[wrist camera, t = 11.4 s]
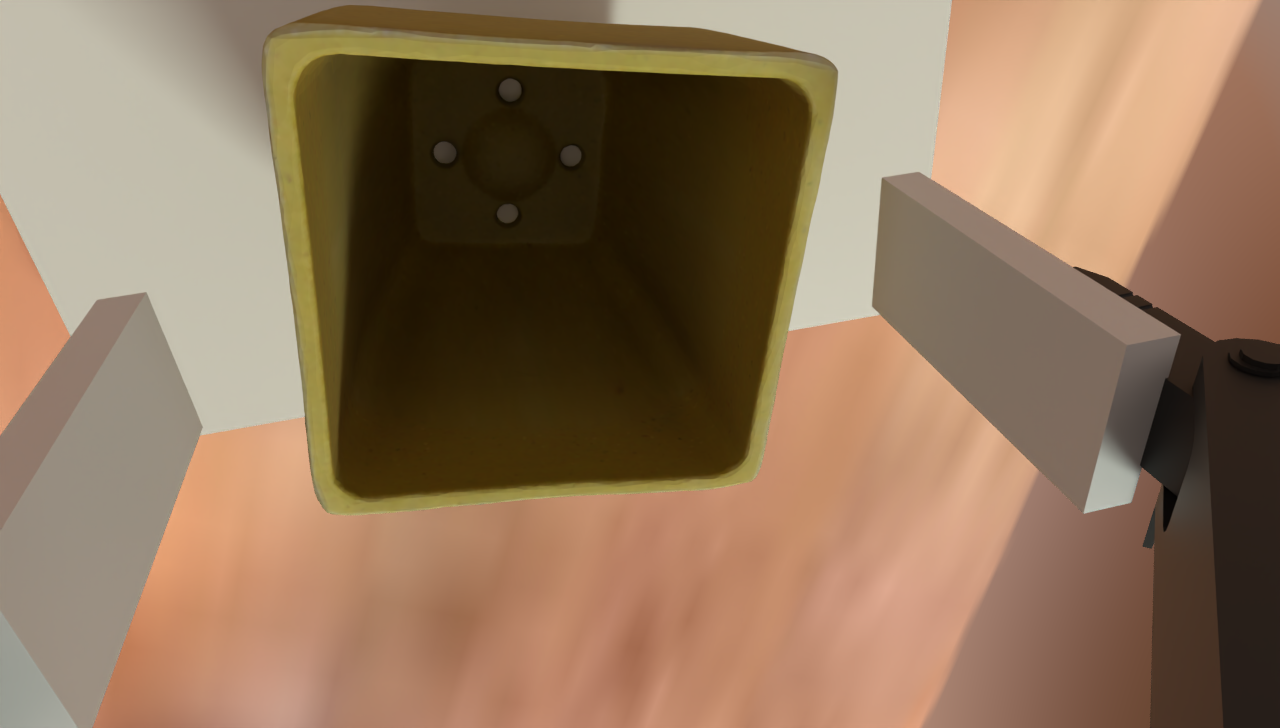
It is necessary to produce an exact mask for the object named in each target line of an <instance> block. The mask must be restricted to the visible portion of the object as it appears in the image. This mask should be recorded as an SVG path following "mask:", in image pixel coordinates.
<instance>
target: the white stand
mask: <svg viewBox="0 0 1280 728" xmlns="http://www.w3.org/2000/svg"><path fill="white" fill-rule="evenodd" d="M951 4H952V0H0V194H1V197H2V199H3V201H4V203H5V205H6V207H7V209H8V211H9V213H10V215H11V217H12V219H13V221H14V223H15V225H16V227H17V229H18V231H19V233H20V235H21V237H22V239H23V241H24V243H25V245H26V247H27V249H28V251H29V253H30V255H31V257H32V259H33V261H34V263H35V265H36V267H37V269H38V271H39V273H40V275H41V277H42V279H43V281H44V283H45V285H46V287H47V289H48V291H49V293H50V295H51V297H52V299H53V301H54V303H55V305H56V308H57V310H58V312H59V314H60V316H61V318H62V320H63V322H64V324H65V326H66V328H67V330H68V332H69V334H70V336H72V334H73V333H74V331H75V330H76V329H77V327H78V326H79V324H80V323H81V322H82V320H83V319H84V317H85V316H86V315H87V313H88V312H89V310H90V309H91V308H92V306H93V305H94V303H95V302H96V301H97V300H99V299H105V298H112V297H118V296H124V295H131V294H137V293H144V292H147V295H148V297H149V299H150V302H151V304H152V307H153V309H154V311H155V314H156V316H157V319H158V321H159V323H160V326H161V328H162V331H163V333H164V335H165V338H166V340H167V342H168V345H169V347H170V350H171V352H172V354H173V357H174V359H175V362H176V364H177V366H178V369H179V371H180V374H181V376H182V378H183V381H184V383H185V385H186V388H187V390H188V393H189V395H190V397H191V400H192V402H193V405H194V407H195V409H196V412H197V414H198V417H199V419H200V421H201V424H202V426H203V428H202V431H201V433H200V435H205V434H211V433H217V432H222V431H228V430H234V429H239V428H245V427H250V426H256V425H262V424H267V423H273V422H279V421H284V420H290V419H296V418H301V417H305V412H304V403H303V391H302V381H301V374H300V366H299V357H298V349H297V340H296V332H295V323H294V314H293V305H292V299H291V293H290V283H289V274H288V267H287V259H286V252H285V245H284V238H283V230H282V222H281V213H280V205H279V198H278V191H277V184H276V178H275V171H274V165H273V159H272V152H271V144H270V136H269V127H268V118H267V110H266V103H265V96H264V88H263V79H262V51H263V44H264V42H265V40H266V37H267V36H268V35H269V34H270V33H271V32H272V31H273V30H274V29H277V28H279V27H281V26H284V25H286V24H288V23H291V22H294V21H296V20H299V19H302V18H304V17H307V16H310V15H312V14H315V13H318V12H321V11H324V10H328V9H331V8H334V7H339V6H345V5H367V6H379V7H391V8H402V9H413V10H425V11H438V12H451V13H464V14H477V15H490V16H503V17H516V18H529V19H542V20H557V21H574V22H590V23H608V24H629V25H651V26H675V27H694V28H702V29H708V30H713V31H718V32H723V33H728V34H732V35H737V36H741V37H745V38H750V39H754V40H758V41H763V42H767V43H771V44H775V45H780V46H784V47H788V48H791V49H795V50H799V51H803V52H808V53H813V54H817V55H820V56H822V57H825V58H826V59H828V60H829V61H831V62H832V63H833V64H834V65H835V67H836V68H837V70H838V83H837V91H836V99H835V107H834V114H833V120H832V125H831V129H830V135H829V141H828V145H827V149H826V153H825V158H824V163H823V168H822V174H821V179H820V184H819V189H818V194H817V198H816V202H815V206H814V210H813V214H812V218H811V223H810V228H809V232H808V237H807V242H806V248H805V253H804V258H803V263H802V268H801V272H800V276H799V281H798V285H797V290H796V295H795V300H794V305H793V310H792V315H791V320H790V325H789V330H788V331H791V330H797V329H803V328H808V327H814V326H820V325H825V324H831V323H837V322H842V321H848V320H853V319H859V318H865V317H870V316H876V315H880V314H879V313H878V312H877V311H876V310H875V309H874V308H873V307H872V298H873V285H874V272H875V259H876V246H877V232H878V219H879V206H880V193H881V180H882V177H888V176H895V175H901V174H908V173H914V172H920V173H922V174H924V175H925V176H927V177H928V178H930V179H931V175H932V166H933V158H934V149H935V140H936V132H937V123H938V115H939V106H940V98H941V89H942V81H943V72H944V63H945V55H946V46H947V38H948V29H949V21H950V12H951ZM499 93H500V96H501V97H502V98H503V99H504V100H506V101H508V102H512V101H516V100H517V99H518V98H519V97H520V95H521V93H522V88H521V85H520V83H519V82H518V81H516V80H514V79H506V80H504V81H503V82H502V83H501V84H500V87H499ZM434 156H435V158H436V159H437V160H438V161H439V162H440V163H450V162H452V161H453V160H454V159H455V157H456V149H455V148H454V146H453V145H452V144H450V143H448V142H440V143H438V144H437V145H436V146H435V148H434ZM560 159H561V161H562V163H563V164H564V165H566V166H575V165H576V164H578V163H579V161H580V159H581V151H580V149H579V148H578V147H577V146H573V145H570V146H567V147H565V148H564V149H563V150H562V152H561V154H560ZM517 216H518V210H517V208H516V207H515V206H514V205H512V204H504V205H502V206H501V207H499V209H498V211H497V217H498V218H499V220H500V221H502V222H504V223H511V222H513V221H515V219H516V218H517Z"/></svg>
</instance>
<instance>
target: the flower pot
mask: <svg viewBox="0 0 1280 728" xmlns="http://www.w3.org/2000/svg"><path fill="white" fill-rule="evenodd" d="M262 79H263V88H264V96H265V103H266V110H267V118H268V127H269V136H270V144H271V152H272V159H273V165H274V171H275V178H276V184H277V191H278V198H279V205H280V213H281V222H282V230H283V238H284V245H285V252H286V259H287V267H288V274H289V283H290V293H291V299H292V305H293V314H294V323H295V332H296V340H297V349H298V357H299V366H300V374H301V381H302V391H303V403H304V412H305V426H306V433H307V443H308V453H309V461H310V469H311V476H312V481H313V486H314V491H315V494H316V496H317V499H318V501H319V502H320V504H321V505H322V507H323V508H324V509H325V511H326V512H327V513H330V514H335V515H367V514H382V513H394V512H405V511H417V510H427V509H436V508H442V507H454V506H465V505H481V504H490V503H497V502H508V501H517V500H527V499H540V498H554V497H568V496H584V495H603V494H639V493H657V492H673V491H696V490H709V489H716V488H722V487H728V486H733V485H738V484H742V483H747V482H751V481H752V480H753V479H755V478H756V476H757V474H758V472H759V470H760V467H761V464H762V460H763V456H764V451H765V446H766V442H767V435H768V430H769V425H770V420H771V415H772V410H773V405H774V401H775V395H776V389H777V384H778V379H779V373H780V368H781V362H782V357H783V352H784V348H785V343H786V339H787V334H788V330H789V325H790V320H791V315H792V310H793V305H794V300H795V295H796V290H797V285H798V281H799V276H800V272H801V268H802V263H803V258H804V253H805V248H806V242H807V237H808V232H809V228H810V223H811V218H812V214H813V210H814V206H815V202H816V198H817V194H818V189H819V184H820V179H821V174H822V168H823V163H824V158H825V153H826V149H827V145H828V141H829V135H830V129H831V125H832V120H833V114H834V107H835V99H836V91H837V83H838V70H837V68H836V67H835V65H834V64H833V63H832V62H831V61H829V60H828V59H826V58H825V57H822V56H820V55H817V54H813V53H808V52H803V51H799V50H795V49H791V48H788V47H784V46H780V45H775V44H771V43H767V42H763V41H758V40H754V39H750V38H745V37H741V36H737V35H732V34H728V33H723V32H718V31H713V30H708V29H702V28H694V27H675V26H651V25H629V24H608V23H590V22H574V21H557V20H542V19H529V18H516V17H503V16H490V15H477V14H464V13H451V12H438V11H425V10H413V9H402V8H391V7H379V6H367V5H345V6H339V7H334V8H331V9H328V10H324V11H321V12H318V13H315V14H312V15H310V16H307V17H304V18H302V19H299V20H296V21H294V22H291V23H288V24H286V25H284V26H281V27H279V28H277V29H274V30H273V31H272V32H271V33H270V34H269V35H268V36H267V37H266V40H265V42H264V44H263V51H262ZM506 79H514V80H516V81H518V82H519V83H520V85H521V88H522V93H521V95H520V97H519V98H518V99H517V100H516V101H512V102H508V101H506V100H504V99H503V98H502V97H501V96H500V93H499V87H500V84H501V83H502V82H503V81H504V80H506ZM440 142H448V143H450V144H452V145H453V146H454V148H455V149H456V157H455V159H454V160H453V161H452V162H450V163H440V162H439V161H438V160H437V159H436V158H435V156H434V148H435V146H436V145H437V144H438V143H440ZM570 145H573V146H577V147H578V148H579V149H580V151H581V159H580V161H579V163H578V164H576V165H575V166H566V165H564V164H563V163H562V161H561V159H560V154H561V152H562V150H563V149H564V148H565V147H567V146H570ZM504 204H512V205H514V206H515V207H516V208H517V210H518V216H517V218H516V219H515V221H513V222H511V223H504V222H502V221H500V220H499V218H498V217H497V211H498V209H499V207H501V206H502V205H504Z"/></svg>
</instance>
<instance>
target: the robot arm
mask: <svg viewBox="0 0 1280 728" xmlns="http://www.w3.org/2000/svg"><path fill="white" fill-rule="evenodd" d="M872 307H873V308H874V309H875V310H876V311H877V312H878V313H879V314H880V315H881V316H882V317H883V318H884V319H885V320H886V321H887V322H888V323H889V324H890V325H891V326H892V327H893V328H894V329H895V330H896V331H897V332H898V333H899V334H900V335H902V336H903V337H904V338H905V339H906V340H907V341H908V342H909V343H910V344H911V345H912V346H913V347H914V348H915V349H916V350H917V351H918V352H919V353H920V354H921V355H922V356H923V357H924V358H925V359H926V360H927V361H928V362H929V363H930V364H931V365H932V366H933V367H934V368H935V369H936V370H937V371H938V372H939V373H940V374H941V375H942V376H943V377H944V378H945V379H946V380H947V381H949V382H950V383H951V384H952V385H953V386H954V387H955V388H956V389H957V390H958V391H959V392H960V393H961V394H962V395H963V396H964V397H965V398H966V399H967V400H968V401H969V402H970V403H971V404H972V405H973V406H974V407H975V408H976V409H977V410H978V411H979V412H980V413H981V414H982V415H983V416H984V417H985V418H986V419H987V420H988V421H989V422H990V423H991V424H992V425H993V426H994V427H996V428H997V429H998V430H999V431H1000V432H1001V433H1002V434H1003V435H1004V436H1005V437H1006V438H1007V439H1008V440H1009V441H1010V442H1011V443H1012V444H1013V445H1014V446H1015V447H1016V448H1017V449H1018V450H1019V451H1020V452H1021V453H1022V454H1023V455H1024V456H1025V457H1026V458H1027V459H1028V460H1029V461H1030V462H1031V463H1032V464H1033V465H1034V466H1035V467H1036V468H1037V469H1038V470H1039V471H1040V472H1042V474H1044V475H1045V476H1046V477H1047V478H1048V479H1049V480H1050V481H1051V482H1052V483H1053V484H1054V485H1055V486H1056V487H1057V488H1058V489H1059V490H1060V491H1061V492H1062V493H1063V494H1064V495H1065V496H1066V497H1067V498H1068V499H1069V500H1070V501H1071V502H1072V503H1073V504H1074V505H1075V506H1076V507H1077V508H1078V509H1079V510H1080V511H1081V512H1083V514H1084V513H1088V512H1092V511H1097V510H1100V509H1105V508H1110V507H1114V506H1119V505H1123V504H1127V503H1131V502H1132V499H1133V495H1134V492H1135V488H1136V485H1137V482H1138V479H1139V475H1140V471H1141V468H1144V469H1145V470H1146V471H1147V472H1149V473H1150V474H1151V475H1152V476H1153V477H1154V478H1156V479H1157V480H1158V481H1159V482H1160V483H1162V486H1161V489H1160V493H1159V495H1158V499H1157V502H1156V505H1155V509H1154V511H1153V515H1152V518H1151V521H1150V524H1149V527H1148V530H1147V534H1146V537H1145V540H1144V543H1143V547H1147V548H1152V546H1153V544H1154V584H1153V626H1152V671H1151V713H1150V717H1151V718H1150V728H1280V344H1275V343H1270V342H1266V341H1261V340H1253V339H1239V338H1235V339H1227V340H1219V341H1217V342H1214V341H1212V340H1211V339H1209V338H1207V337H1206V336H1204V335H1202V334H1201V333H1199V332H1197V331H1195V330H1194V329H1192V328H1191V327H1189V326H1187V325H1186V324H1184V323H1182V322H1181V321H1179V320H1178V319H1176V318H1174V317H1173V316H1171V315H1169V314H1168V313H1166V312H1164V311H1163V310H1161V309H1159V308H1158V307H1156V308H1153V307H1152V304H1151V303H1149V302H1148V301H1146V300H1144V299H1143V298H1141V297H1139V296H1138V295H1136V296H1133V292H1131V291H1130V290H1128V289H1126V288H1125V287H1123V286H1121V285H1120V284H1118V283H1116V282H1115V281H1113V280H1111V279H1110V278H1108V277H1105V276H1102V275H1099V274H1096V273H1093V272H1090V271H1087V270H1084V269H1081V268H1078V267H1071V266H1070V265H1068V264H1067V263H1065V262H1063V261H1062V260H1060V259H1059V258H1057V257H1055V256H1054V255H1052V254H1051V253H1049V252H1047V251H1046V250H1044V249H1043V248H1041V247H1039V246H1038V245H1036V244H1034V243H1033V242H1031V241H1030V240H1028V239H1026V238H1025V237H1023V236H1022V235H1020V234H1018V233H1017V232H1015V231H1014V230H1012V229H1010V228H1009V227H1007V226H1006V225H1004V224H1002V223H1001V222H999V221H998V220H996V219H994V218H993V217H991V216H989V215H988V214H986V213H985V212H983V211H981V210H980V209H978V208H977V207H975V206H973V205H972V204H970V203H969V202H967V201H965V200H964V199H962V198H961V197H959V196H957V195H956V194H954V193H952V192H951V191H949V190H948V189H946V188H944V187H943V186H941V185H940V184H938V183H936V182H935V181H933V180H932V179H930V178H928V177H927V176H925V175H924V174H922V173H920V172H914V173H908V174H901V175H895V176H888V177H882V180H881V193H880V206H879V219H878V232H877V246H876V259H875V272H874V285H873V298H872ZM202 428H203V426H202V424H201V421H200V419H199V417H198V414H197V412H196V409H195V407H194V405H193V402H192V400H191V397H190V395H189V393H188V390H187V388H186V385H185V383H184V381H183V378H182V376H181V374H180V371H179V369H178V366H177V364H176V362H175V359H174V357H173V354H172V352H171V350H170V347H169V345H168V342H167V340H166V338H165V335H164V333H163V331H162V328H161V326H160V323H159V321H158V319H157V316H156V314H155V311H154V309H153V307H152V304H151V302H150V299H149V297H148V295H147V292H144V293H137V294H131V295H124V296H118V297H112V298H105V299H99V300H97V301H96V302H95V303H94V305H93V306H92V308H91V309H90V310H89V312H88V313H87V315H86V316H85V317H84V319H83V320H82V322H81V323H80V324H79V326H78V327H77V329H76V330H75V331H74V333H73V334H72V336H71V337H70V338H69V340H68V341H67V343H66V344H65V345H64V347H63V348H62V350H61V351H60V353H59V354H58V355H57V357H56V358H55V360H54V361H53V362H52V364H51V365H50V367H49V368H48V369H47V371H46V372H45V374H44V375H43V376H42V378H41V379H40V381H39V382H38V383H37V385H36V386H35V388H34V389H33V390H32V392H31V393H30V395H29V396H28V397H27V399H26V400H25V402H24V403H23V404H22V406H21V407H20V409H19V410H18V412H17V413H16V414H15V416H14V417H13V419H12V420H11V421H10V423H9V424H8V426H7V427H6V428H5V430H4V431H3V433H2V434H1V435H0V728H92V727H93V725H94V722H95V719H96V717H97V714H98V711H99V708H100V706H101V703H102V700H103V698H104V695H105V692H106V689H107V687H108V684H109V681H110V678H111V676H112V673H113V670H114V668H115V665H116V662H117V659H118V657H119V654H120V651H121V649H122V646H123V643H124V640H125V638H126V635H127V632H128V629H129V627H130V624H131V621H132V619H133V616H134V613H135V610H136V608H137V605H138V602H139V600H140V597H141V594H142V591H143V589H144V586H145V583H146V580H147V578H148V575H149V572H150V570H151V567H152V564H153V561H154V559H155V556H156V553H157V551H158V548H159V545H160V542H161V540H162V537H163V534H164V531H165V529H166V526H167V523H168V521H169V518H170V515H171V512H172V510H173V507H174V504H175V501H176V499H177V496H178V493H179V491H180V488H181V485H182V482H183V480H184V477H185V474H186V472H187V469H188V466H189V463H190V461H191V458H192V455H193V452H194V450H195V447H196V444H197V442H198V439H199V436H200V433H201V431H202Z"/></svg>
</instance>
